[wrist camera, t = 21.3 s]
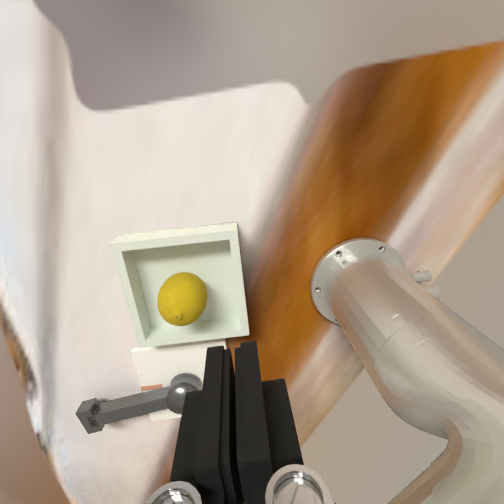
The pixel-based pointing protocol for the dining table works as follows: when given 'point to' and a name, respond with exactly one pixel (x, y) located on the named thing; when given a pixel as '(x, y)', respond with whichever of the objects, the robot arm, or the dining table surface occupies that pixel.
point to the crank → (137, 403)
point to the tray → (176, 261)
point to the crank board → (170, 366)
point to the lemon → (182, 299)
